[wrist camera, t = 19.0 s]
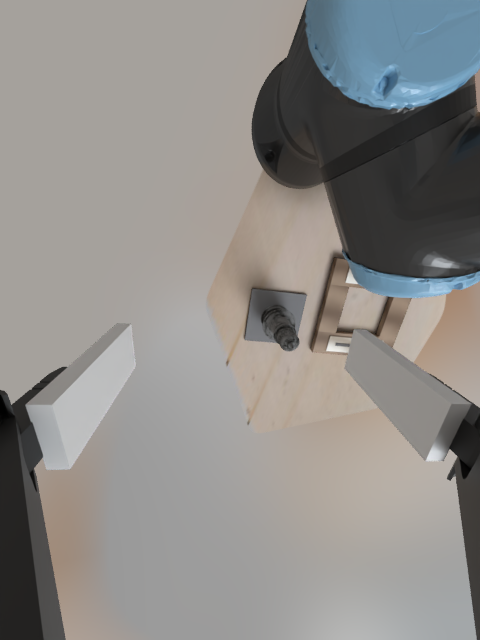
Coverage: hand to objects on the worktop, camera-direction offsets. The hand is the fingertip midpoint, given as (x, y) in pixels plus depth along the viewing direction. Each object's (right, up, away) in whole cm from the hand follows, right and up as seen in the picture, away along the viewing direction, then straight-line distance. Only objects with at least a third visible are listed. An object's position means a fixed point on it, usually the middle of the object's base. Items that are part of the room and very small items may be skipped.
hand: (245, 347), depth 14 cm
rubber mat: (+6, +2, +30) cm, 31 cm away
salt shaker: (+6, +2, +30) cm, 31 cm away
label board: (+23, +3, +31) cm, 39 cm away
